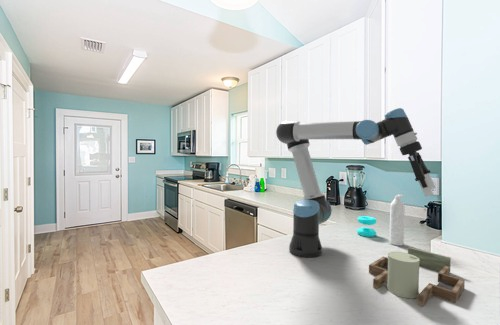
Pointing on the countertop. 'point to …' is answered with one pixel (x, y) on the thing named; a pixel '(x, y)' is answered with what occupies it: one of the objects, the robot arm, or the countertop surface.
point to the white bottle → (397, 221)
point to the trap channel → (444, 289)
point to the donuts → (365, 231)
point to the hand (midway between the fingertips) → (430, 191)
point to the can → (403, 274)
